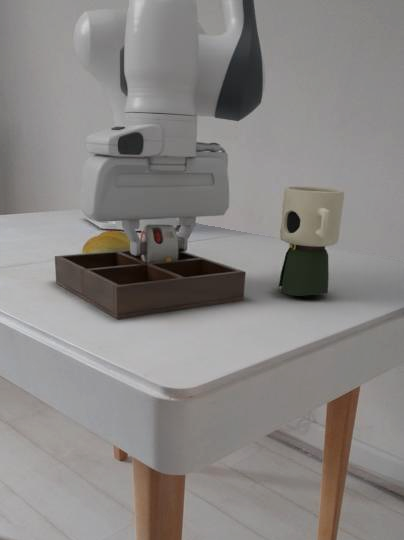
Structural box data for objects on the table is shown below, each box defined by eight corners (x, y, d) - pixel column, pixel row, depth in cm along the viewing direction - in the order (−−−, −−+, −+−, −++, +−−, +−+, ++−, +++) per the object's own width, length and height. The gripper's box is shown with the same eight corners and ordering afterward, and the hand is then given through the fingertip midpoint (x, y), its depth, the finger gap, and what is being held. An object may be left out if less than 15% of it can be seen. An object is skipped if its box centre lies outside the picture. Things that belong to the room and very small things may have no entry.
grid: (55, 283, 72) (54, 255, 71) (169, 270, 81) (170, 246, 80) (116, 319, 59) (116, 287, 58) (243, 300, 68) (245, 271, 67)
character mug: (264, 284, 76) (273, 184, 72) (314, 284, 78) (326, 186, 73) (287, 307, 66) (299, 192, 62) (345, 306, 68) (361, 194, 63)
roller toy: (170, 263, 79) (171, 221, 76) (182, 274, 73) (184, 228, 71) (139, 264, 77) (139, 221, 75) (149, 275, 72) (149, 229, 69)
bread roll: (75, 261, 85) (73, 234, 83) (99, 251, 93) (98, 226, 91) (126, 266, 83) (126, 239, 81) (147, 255, 91) (147, 230, 89)
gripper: (214, 142, 77) (209, 243, 82) (73, 136, 66) (77, 254, 71) (242, 144, 72) (235, 251, 78) (96, 138, 61) (99, 264, 67)
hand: (159, 252), depth 74 cm, fingers closed on roller toy, 5 cm apart
